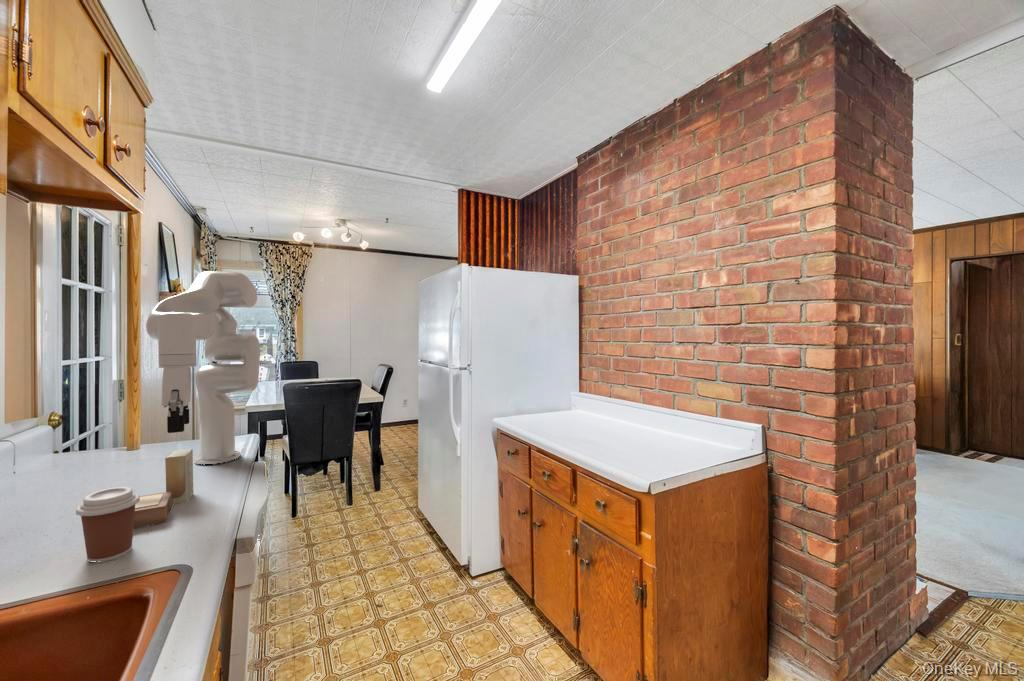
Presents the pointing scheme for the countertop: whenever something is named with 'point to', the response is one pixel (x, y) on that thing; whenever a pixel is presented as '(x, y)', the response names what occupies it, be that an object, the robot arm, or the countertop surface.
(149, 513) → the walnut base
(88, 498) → the coffee cup
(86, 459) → the countertop surface
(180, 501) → the skincare box
